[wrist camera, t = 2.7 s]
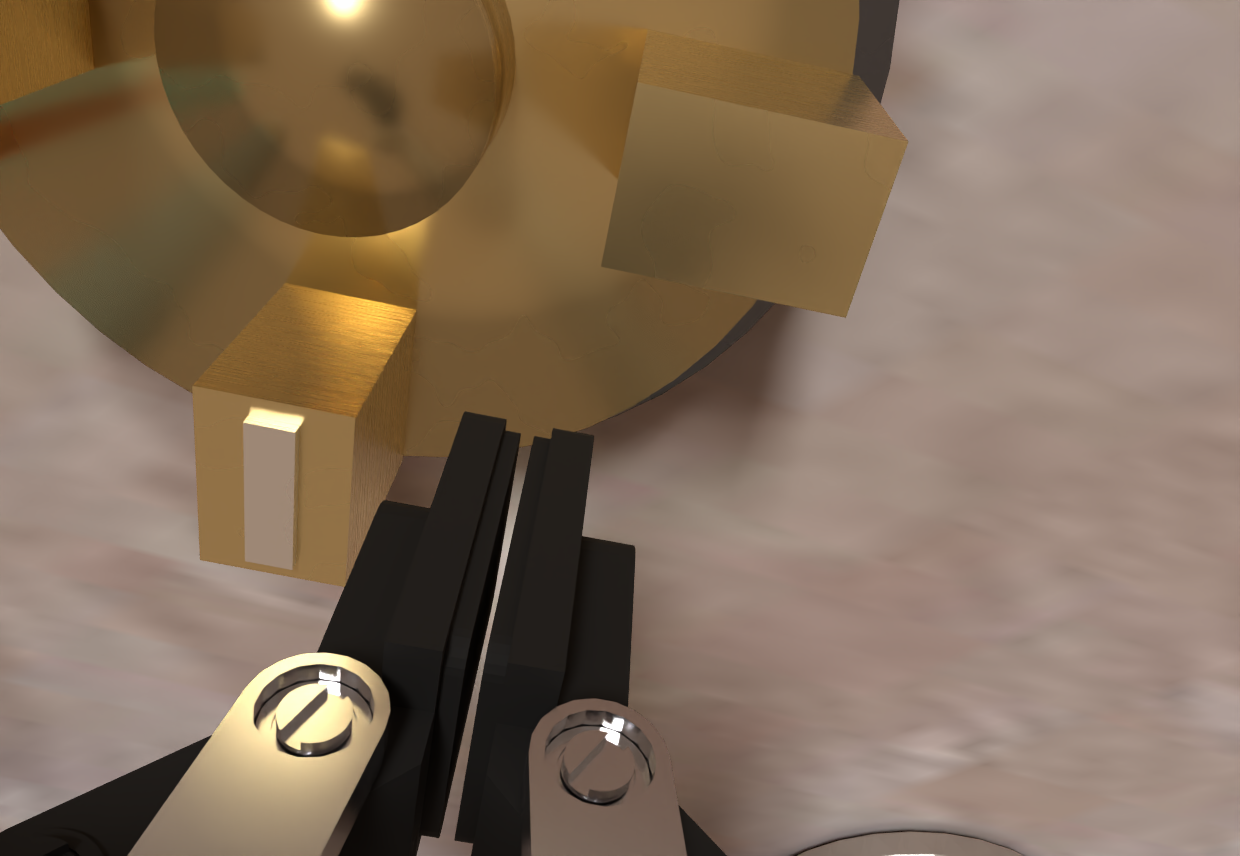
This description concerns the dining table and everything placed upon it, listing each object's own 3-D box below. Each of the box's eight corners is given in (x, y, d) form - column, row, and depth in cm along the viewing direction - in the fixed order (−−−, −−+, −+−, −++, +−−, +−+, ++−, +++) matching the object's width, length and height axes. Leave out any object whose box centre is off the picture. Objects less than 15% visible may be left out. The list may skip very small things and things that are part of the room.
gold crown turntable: (994, -439, 14) (1181, -608, 8) (715, 473, 22) (725, 666, 17) (-165, -734, 13) (-738, -1121, 8) (5, 334, 21) (-213, 491, 16)
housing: (1032, -463, 15) (1205, -615, 10) (740, 453, 25) (755, 612, 20) (-114, -757, 14) (-552, -1086, 9) (35, 313, 24) (-143, 442, 19)
